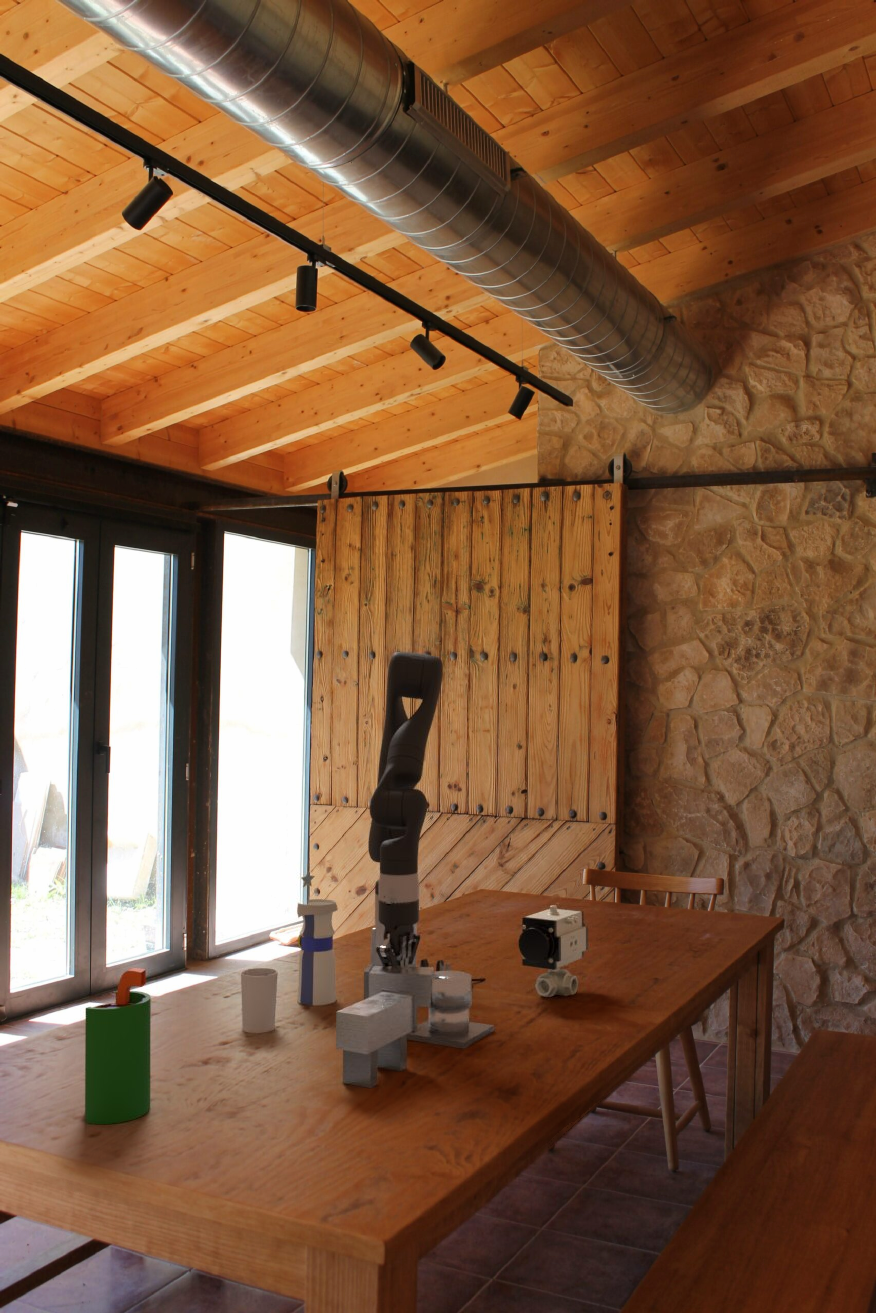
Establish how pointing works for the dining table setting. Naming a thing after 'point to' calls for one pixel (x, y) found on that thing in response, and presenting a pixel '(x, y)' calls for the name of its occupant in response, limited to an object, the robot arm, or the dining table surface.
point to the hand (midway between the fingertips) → (398, 991)
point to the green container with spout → (118, 1054)
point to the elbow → (421, 985)
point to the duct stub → (450, 1029)
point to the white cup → (258, 999)
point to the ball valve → (554, 947)
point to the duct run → (375, 1035)
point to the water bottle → (316, 951)
